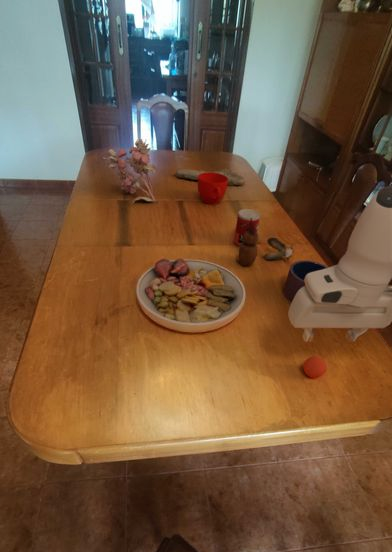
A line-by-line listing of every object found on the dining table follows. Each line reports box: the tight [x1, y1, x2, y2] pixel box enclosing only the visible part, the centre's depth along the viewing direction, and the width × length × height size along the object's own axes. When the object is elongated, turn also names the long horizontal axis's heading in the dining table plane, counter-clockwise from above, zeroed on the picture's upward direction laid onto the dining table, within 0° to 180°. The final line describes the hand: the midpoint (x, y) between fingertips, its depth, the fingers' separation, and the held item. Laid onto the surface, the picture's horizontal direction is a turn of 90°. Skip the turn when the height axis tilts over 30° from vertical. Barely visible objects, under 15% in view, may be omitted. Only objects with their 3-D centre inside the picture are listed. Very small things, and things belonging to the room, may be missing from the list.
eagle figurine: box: [262, 237, 295, 261], centre depth 109 cm, size 8×7×9 cm
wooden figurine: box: [238, 218, 259, 268], centre depth 102 cm, size 7×6×15 cm
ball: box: [302, 355, 327, 379], centre depth 73 cm, size 5×5×5 cm
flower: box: [102, 138, 159, 204], centre depth 132 cm, size 20×22×25 cm
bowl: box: [135, 258, 247, 333], centre depth 88 cm, size 30×30×8 cm
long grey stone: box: [175, 168, 246, 187], centre depth 158 cm, size 35×5×10 cm
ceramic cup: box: [197, 171, 228, 206], centre depth 136 cm, size 13×17×10 cm
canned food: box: [233, 208, 261, 248], centre depth 113 cm, size 8×8×11 cm
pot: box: [282, 259, 329, 303], centre depth 94 cm, size 13×13×8 cm
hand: (327, 339), depth 67 cm, fingers open, 8 cm apart
